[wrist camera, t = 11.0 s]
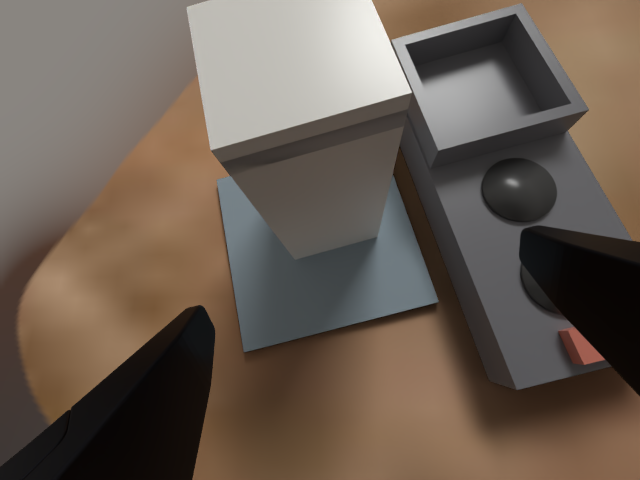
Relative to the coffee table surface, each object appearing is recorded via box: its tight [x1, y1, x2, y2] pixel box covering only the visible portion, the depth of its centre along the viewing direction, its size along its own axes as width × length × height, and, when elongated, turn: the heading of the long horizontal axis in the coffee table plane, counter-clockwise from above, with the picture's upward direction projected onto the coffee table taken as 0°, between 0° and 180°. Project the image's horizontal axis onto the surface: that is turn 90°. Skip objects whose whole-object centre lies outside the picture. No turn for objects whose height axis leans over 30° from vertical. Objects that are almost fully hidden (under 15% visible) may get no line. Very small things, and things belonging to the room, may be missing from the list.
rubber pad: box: [217, 174, 439, 352], centre depth 17 cm, size 10×10×1 cm
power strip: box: [391, 3, 632, 390], centre depth 14 cm, size 16×7×4 cm, turn 14°
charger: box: [187, 0, 412, 260], centre depth 12 cm, size 4×4×10 cm
